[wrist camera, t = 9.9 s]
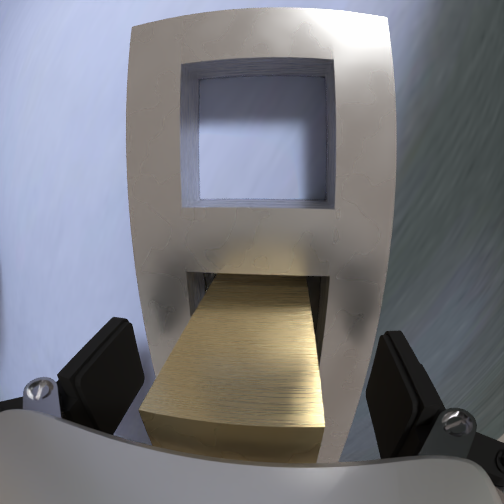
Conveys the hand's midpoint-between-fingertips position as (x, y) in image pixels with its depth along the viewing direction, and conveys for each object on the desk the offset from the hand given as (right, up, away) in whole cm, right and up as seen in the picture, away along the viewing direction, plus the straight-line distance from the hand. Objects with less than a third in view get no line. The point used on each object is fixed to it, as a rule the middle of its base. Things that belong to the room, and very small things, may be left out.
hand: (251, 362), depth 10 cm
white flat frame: (0, +1, +4) cm, 4 cm away
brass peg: (+1, +1, +4) cm, 4 cm away
